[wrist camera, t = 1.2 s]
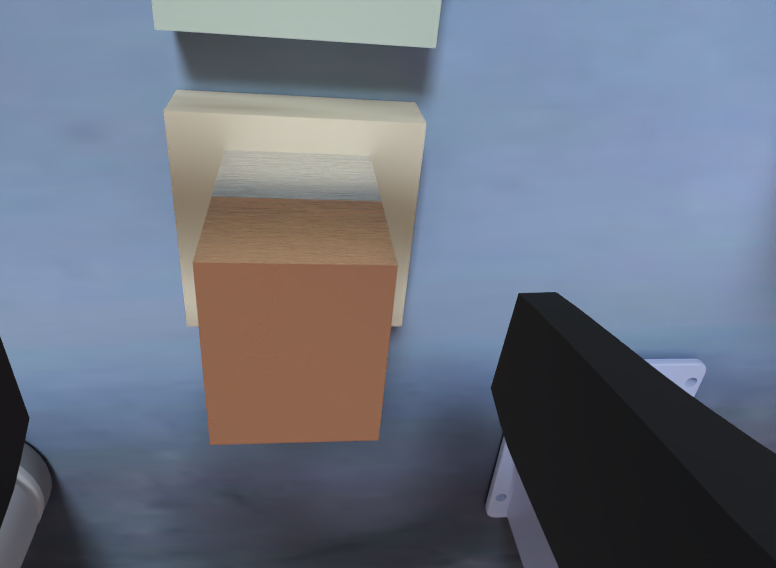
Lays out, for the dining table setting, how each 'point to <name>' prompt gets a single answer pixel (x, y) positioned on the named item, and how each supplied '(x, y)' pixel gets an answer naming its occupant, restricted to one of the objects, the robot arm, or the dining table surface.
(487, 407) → the dining table surface
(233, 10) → the stand
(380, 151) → the stand
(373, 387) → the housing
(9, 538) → the travel mug
